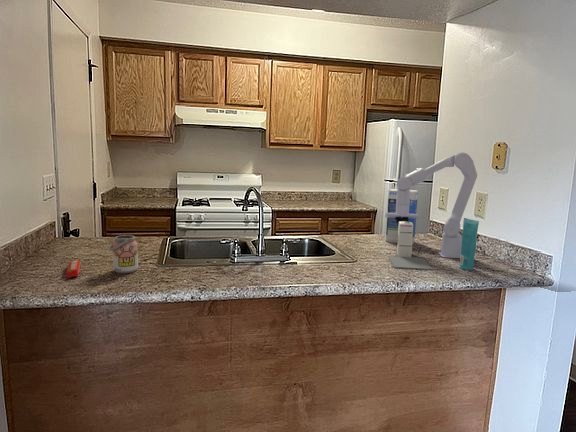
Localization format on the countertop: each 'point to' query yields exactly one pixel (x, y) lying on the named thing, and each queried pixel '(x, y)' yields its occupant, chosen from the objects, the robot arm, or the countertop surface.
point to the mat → (409, 263)
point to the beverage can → (125, 254)
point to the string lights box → (391, 222)
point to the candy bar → (73, 269)
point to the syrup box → (405, 239)
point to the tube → (468, 243)
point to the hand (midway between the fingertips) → (400, 233)
